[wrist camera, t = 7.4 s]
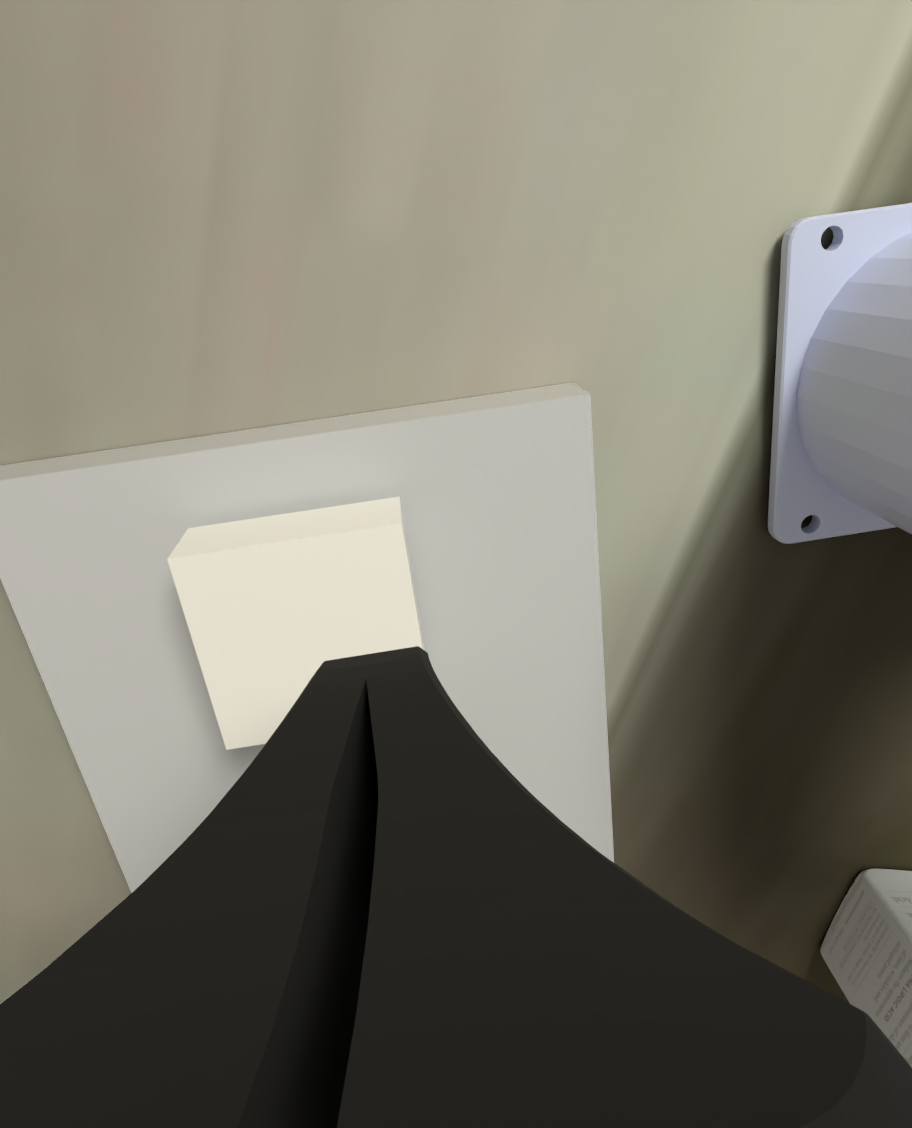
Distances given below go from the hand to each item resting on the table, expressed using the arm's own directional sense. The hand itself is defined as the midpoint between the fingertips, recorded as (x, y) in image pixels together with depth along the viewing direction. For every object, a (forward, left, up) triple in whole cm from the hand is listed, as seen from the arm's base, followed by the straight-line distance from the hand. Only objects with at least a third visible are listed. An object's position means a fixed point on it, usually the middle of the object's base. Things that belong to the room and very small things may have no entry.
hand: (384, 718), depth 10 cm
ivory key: (+2, +2, -10) cm, 10 cm away
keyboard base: (+2, +9, -10) cm, 14 cm away
